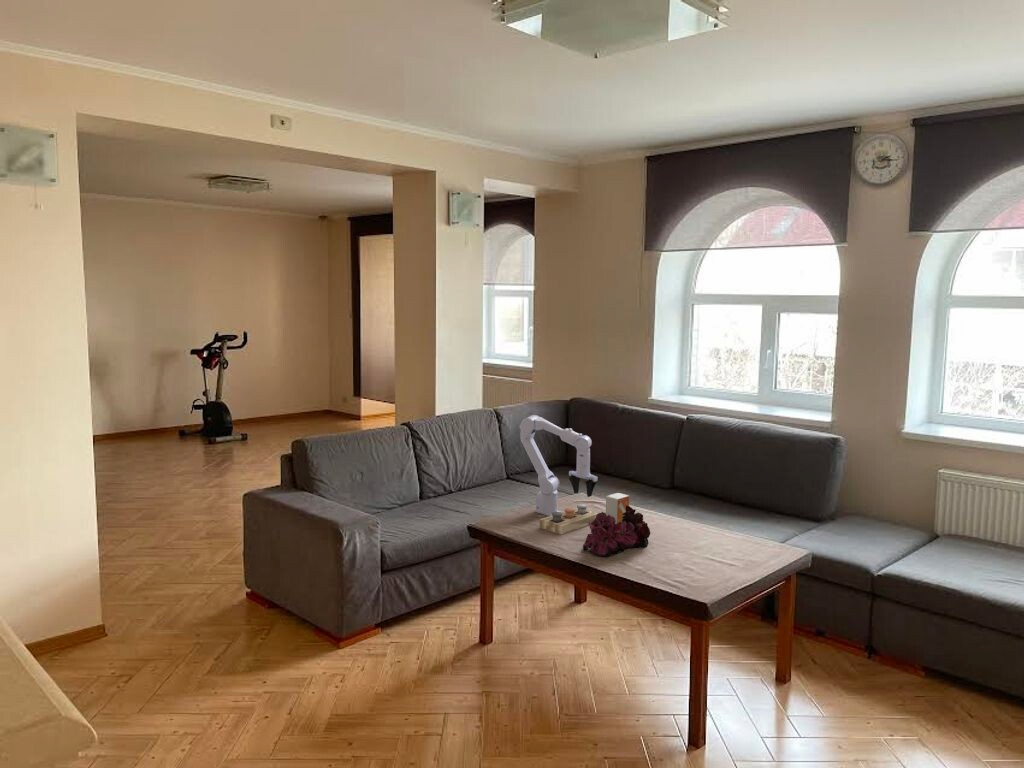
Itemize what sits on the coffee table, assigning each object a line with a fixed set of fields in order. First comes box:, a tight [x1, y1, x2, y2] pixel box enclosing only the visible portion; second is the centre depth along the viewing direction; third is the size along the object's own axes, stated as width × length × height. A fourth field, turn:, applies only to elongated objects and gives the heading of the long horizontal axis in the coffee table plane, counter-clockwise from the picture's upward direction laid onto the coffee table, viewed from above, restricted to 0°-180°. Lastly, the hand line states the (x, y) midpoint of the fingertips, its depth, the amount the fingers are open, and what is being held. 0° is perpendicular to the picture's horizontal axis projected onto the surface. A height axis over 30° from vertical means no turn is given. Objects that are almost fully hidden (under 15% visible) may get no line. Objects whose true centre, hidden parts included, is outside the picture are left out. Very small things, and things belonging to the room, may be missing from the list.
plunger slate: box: [576, 503, 588, 515], centre depth 317 cm, size 4×4×4 cm
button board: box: [539, 507, 599, 535], centre depth 311 cm, size 12×24×4 cm, turn 135°
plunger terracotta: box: [564, 507, 575, 519], centre depth 311 cm, size 4×4×4 cm
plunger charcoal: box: [552, 512, 562, 523], centre depth 305 cm, size 4×4×4 cm
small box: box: [605, 492, 630, 524], centre depth 309 cm, size 8×6×13 cm
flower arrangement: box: [582, 505, 651, 559], centre depth 284 cm, size 31×20×15 cm, turn 139°
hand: (582, 494), depth 321 cm, fingers open, 7 cm apart
